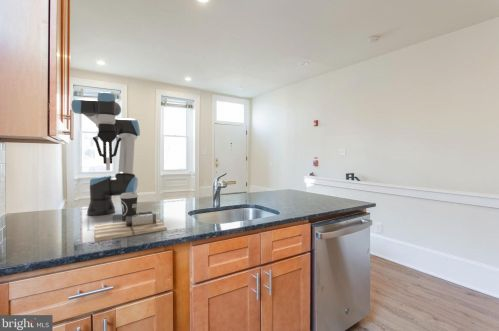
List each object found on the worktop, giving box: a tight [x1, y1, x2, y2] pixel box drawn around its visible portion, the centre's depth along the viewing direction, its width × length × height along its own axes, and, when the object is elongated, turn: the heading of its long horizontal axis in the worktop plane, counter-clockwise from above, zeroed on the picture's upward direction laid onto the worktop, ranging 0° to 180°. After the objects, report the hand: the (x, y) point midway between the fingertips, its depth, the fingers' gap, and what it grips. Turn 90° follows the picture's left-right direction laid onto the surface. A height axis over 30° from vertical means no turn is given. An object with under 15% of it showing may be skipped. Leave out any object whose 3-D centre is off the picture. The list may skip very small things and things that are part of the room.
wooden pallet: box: [94, 210, 168, 242], centre depth 122 cm, size 21×30×6 cm
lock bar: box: [125, 212, 157, 226], centre depth 125 cm, size 14×4×5 cm, turn 116°
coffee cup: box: [119, 192, 139, 222], centre depth 140 cm, size 10×10×15 cm
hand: (108, 170), depth 125 cm, fingers closed
